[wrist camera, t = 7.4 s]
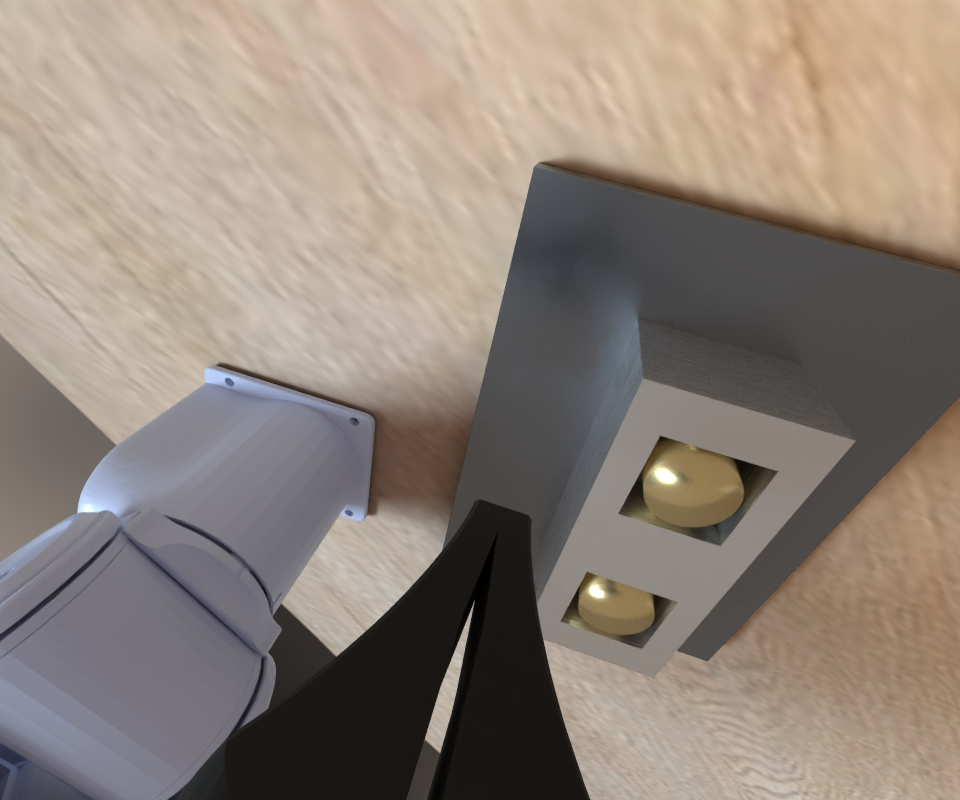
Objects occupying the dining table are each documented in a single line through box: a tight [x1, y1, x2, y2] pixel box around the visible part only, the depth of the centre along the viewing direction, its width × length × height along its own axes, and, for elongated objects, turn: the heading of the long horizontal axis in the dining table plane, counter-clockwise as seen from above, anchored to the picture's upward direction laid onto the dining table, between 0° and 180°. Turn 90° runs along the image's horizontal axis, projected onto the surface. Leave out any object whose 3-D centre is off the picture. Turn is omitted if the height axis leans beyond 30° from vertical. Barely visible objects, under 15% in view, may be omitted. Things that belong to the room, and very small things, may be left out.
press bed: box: [442, 162, 960, 661], centre depth 22 cm, size 16×22×1 cm
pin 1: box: [578, 572, 655, 635], centre depth 21 cm, size 3×3×4 cm
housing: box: [533, 319, 856, 678], centre depth 19 cm, size 6×14×4 cm, turn 169°
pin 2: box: [642, 436, 744, 527], centre depth 17 cm, size 3×3×4 cm
